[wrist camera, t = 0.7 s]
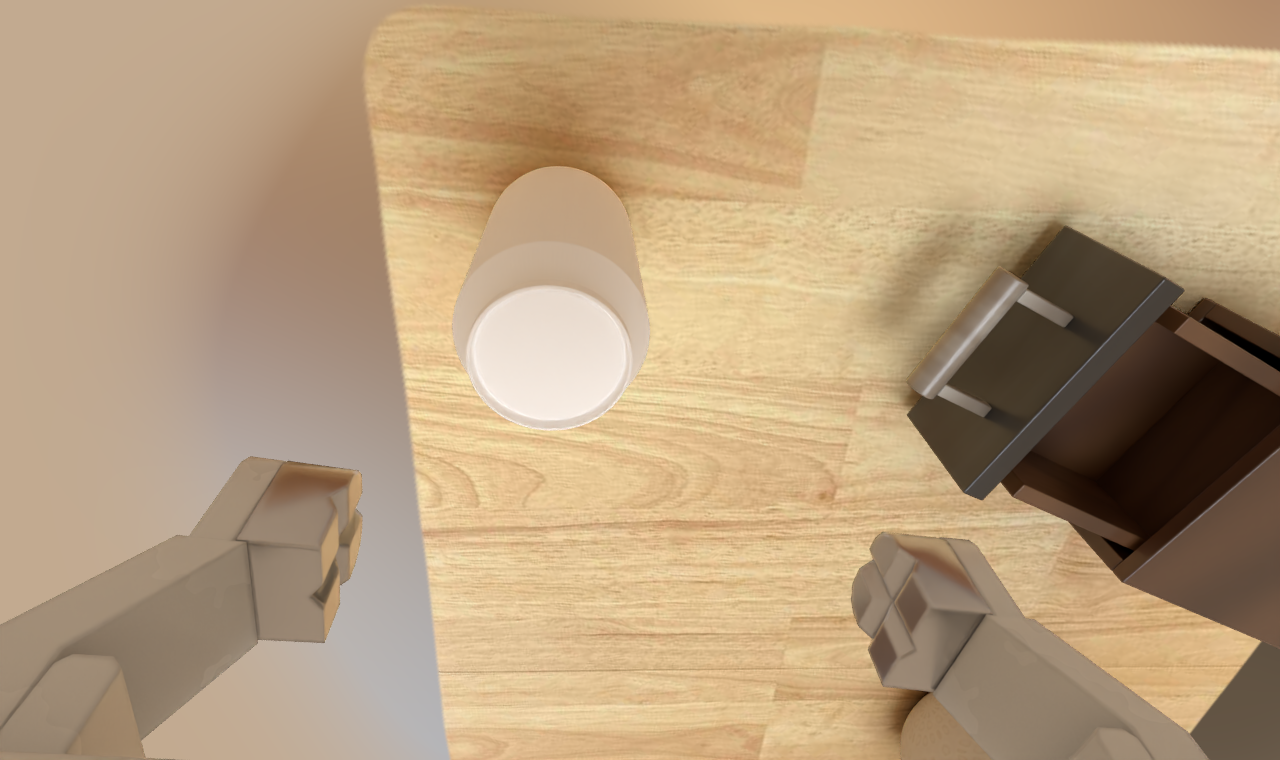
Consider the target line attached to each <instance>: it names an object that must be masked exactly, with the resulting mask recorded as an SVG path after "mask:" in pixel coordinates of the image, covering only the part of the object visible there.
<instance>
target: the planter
mask: <svg viewBox="0 0 1280 760" xmlns="http://www.w3.org/2000/svg"><path fill="white" fill-rule="evenodd" d="M933 693H934V692H930V693H929V694H927V695H926V696H925V697H923V698H922V699H921V700H920V701H919V702H918V703H917V704H916V705H915V706H914V708H913V709H912V710H911V712H910V713H909V715H908V717H907V719H906V721H905V723H904V726H903V729H902V733H901V739H900V757H901V760H992V759H991V758H990V757H989V756H988V755H987V754H986V752H985V751H984V750H983V749H982V748H981V747H980V746H979V745H978V744H977V743H976V742H975V740H974V739H973V738H972V737H971V736H970V735H969V734H968V733H967V732H966V731H965V730H964V728H963V727H962V726H961V725H960V724H959V723H958V722H957V721H956V720H955V719H954V718H953V716H952V715H951V714H950V713H949V712H948V711H947V710H946V709H945V708H944V707H943V706H942V704H941V703H940V702H939V701H938V700H937V699H936V698H935V697H934V696H933V695H932V694H933Z"/></svg>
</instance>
